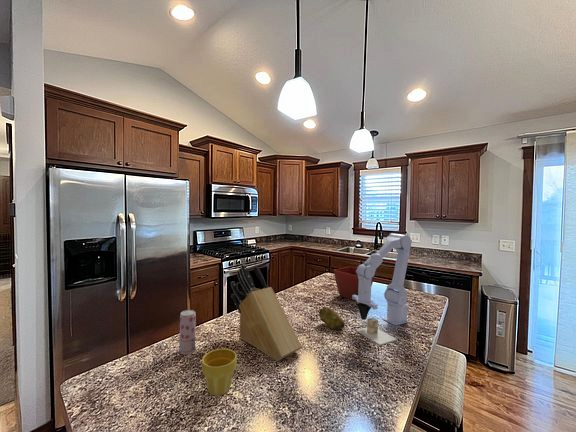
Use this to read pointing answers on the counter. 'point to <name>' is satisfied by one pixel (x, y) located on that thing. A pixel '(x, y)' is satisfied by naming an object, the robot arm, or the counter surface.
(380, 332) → the mat
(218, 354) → the plant pot
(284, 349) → the knife block
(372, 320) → the green-faced wooden block
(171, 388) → the counter surface
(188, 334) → the beverage can
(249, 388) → the counter surface
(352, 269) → the plant pot
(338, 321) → the potato
